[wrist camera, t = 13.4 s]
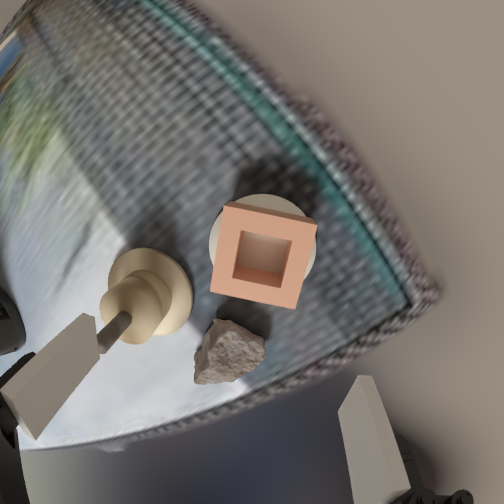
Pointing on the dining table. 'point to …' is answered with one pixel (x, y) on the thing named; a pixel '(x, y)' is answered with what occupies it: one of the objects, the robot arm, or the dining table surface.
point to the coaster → (262, 238)
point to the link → (253, 280)
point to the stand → (144, 298)
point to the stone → (227, 353)
